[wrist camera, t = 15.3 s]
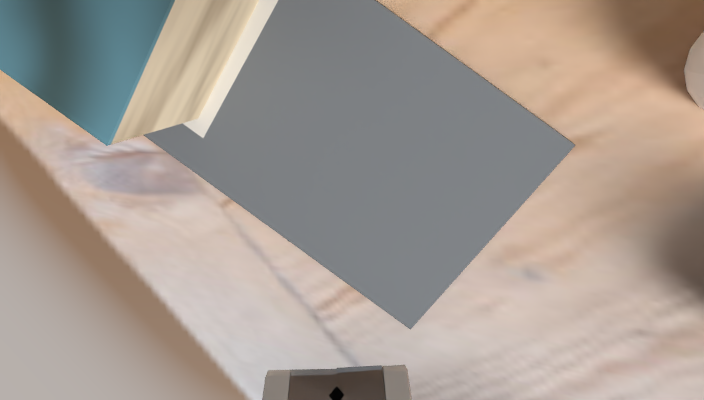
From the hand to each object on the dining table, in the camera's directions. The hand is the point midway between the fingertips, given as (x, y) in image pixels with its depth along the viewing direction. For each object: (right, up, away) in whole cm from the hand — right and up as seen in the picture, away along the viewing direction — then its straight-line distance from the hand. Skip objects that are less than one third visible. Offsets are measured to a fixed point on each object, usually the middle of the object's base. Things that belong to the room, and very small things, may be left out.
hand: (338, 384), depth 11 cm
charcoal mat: (-4, +11, +21) cm, 24 cm away
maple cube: (-13, +13, +13) cm, 22 cm away
